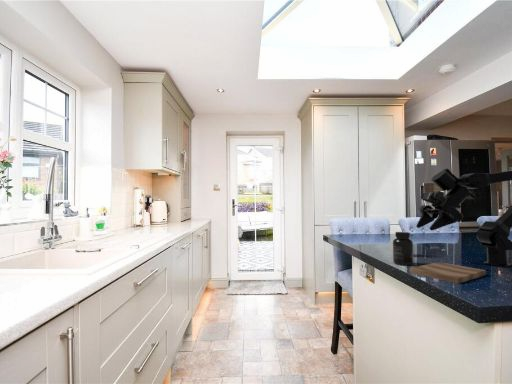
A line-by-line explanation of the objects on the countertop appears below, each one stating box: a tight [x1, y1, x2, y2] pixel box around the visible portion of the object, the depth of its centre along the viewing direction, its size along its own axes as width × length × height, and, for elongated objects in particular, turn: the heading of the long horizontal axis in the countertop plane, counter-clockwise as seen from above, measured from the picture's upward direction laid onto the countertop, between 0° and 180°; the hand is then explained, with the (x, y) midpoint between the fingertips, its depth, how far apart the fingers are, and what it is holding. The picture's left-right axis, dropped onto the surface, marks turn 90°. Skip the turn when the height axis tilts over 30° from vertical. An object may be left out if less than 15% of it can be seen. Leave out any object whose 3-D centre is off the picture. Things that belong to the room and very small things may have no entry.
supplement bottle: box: [392, 231, 414, 266], centre depth 103 cm, size 7×7×12 cm
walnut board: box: [409, 261, 487, 285], centre depth 88 cm, size 18×14×2 cm
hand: (423, 228), depth 103 cm, fingers open, 9 cm apart
